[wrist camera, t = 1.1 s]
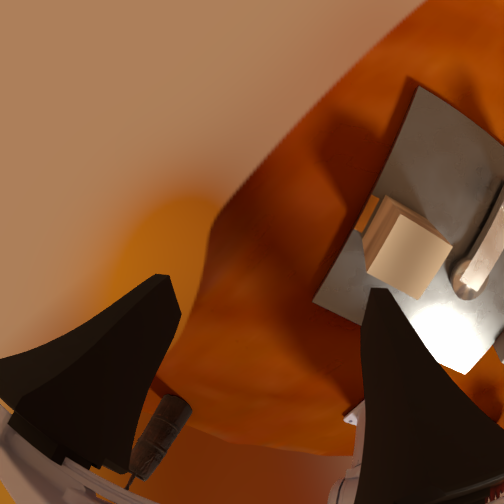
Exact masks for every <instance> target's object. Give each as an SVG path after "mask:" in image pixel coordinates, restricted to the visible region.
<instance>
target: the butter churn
mask: <svg viewBox="0 0 504 504" xmlns="http://www.w3.org/2000/svg"><path fill="white" fill-rule="evenodd" d="M191 414H192V409H191V408H190V406H189V405H188V404H187V403H186V402H185V401H183V400H182V399H180V398H178V397H176V396H170V395H169V394H167V395H164V397H163V398H162V400H161V402H160V404H159V405H158V407H157V409H156V411H155V413H154V414H153V416H152V417H151V420H150V421H149V423H148V425H147V426H146V428H145V430H144V432H143V433H142V435H141V437H140V438H139V439H138V442H137V443H136V445H135V447H134V448H133V449H132V451H131V457H130V463H129V473H131V474H132V475H131V477H130V479H129V481H128V484H127V485H126V487H125V488H124V489H126V490H129V485H131V484H132V482H133V480H134V478H135V476H136V477H137V478H139V479H141V480H143V481H146V480H147V479H148V478H149V476H150V475H151V474H152V473H153V471H154V470H155V469H156V467H157V466H158V465H159V464H160V462H161V460H162V459H163V458H164V456H165V455H166V453H167V450H168V449H169V447H170V446H171V444H172V443H173V441H174V440H175V438H176V437H177V435H178V434H179V433H180V431H181V429H182V428H183V426H184V425H185V423H186V422H187V420H188V419H189V417H190V415H191Z"/></svg>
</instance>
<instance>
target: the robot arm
mask: <svg viewBox="0 0 504 504" xmlns="http://www.w3.org/2000/svg"><path fill="white" fill-rule="evenodd" d="M180 318H181V311H180V308H179V305H178V302H177V299H176V296H175V292H174V289H173V286H172V283H171V280H170V276H169V275H162V274H155V275H153V276H151V277H150V278H148V279H147V280H146V281H144V282H142V283H141V284H140V285H138V286H137V287H136V288H134V289H133V290H132V291H130V292H129V293H127V294H126V295H124V296H123V297H122V298H120V299H119V300H118V301H116V302H115V303H113V304H112V305H111V306H109V307H108V308H106V309H105V310H103V311H102V312H100V313H99V314H98V315H96V316H95V317H93V318H92V319H90V320H89V321H87V322H86V323H84V324H82V325H81V326H79V327H77V328H75V329H74V330H72V331H70V332H68V333H67V334H65V335H63V336H61V337H59V338H57V339H55V340H52V341H50V342H48V343H46V344H44V345H41V346H39V347H37V348H34V349H31V350H29V351H26V352H23V353H20V354H16V355H13V356H9V357H6V358H2V359H0V398H1V399H2V400H3V401H4V402H5V403H6V404H7V405H8V406H9V407H11V408H12V409H13V410H14V413H13V414H10V413H9V412H8V411H7V410H6V409H5V408H4V407H3V406H2V405H1V404H0V480H1V482H2V483H3V485H4V486H5V488H6V489H7V491H8V492H9V494H10V495H11V497H12V498H13V500H14V501H15V502H16V504H112V503H109V502H107V501H104V500H102V499H100V498H97V497H96V493H98V494H100V495H102V496H103V497H105V498H107V499H109V500H111V501H113V502H114V503H116V504H159V503H156V502H154V501H151V500H148V499H146V498H144V497H141V496H139V495H137V494H134V493H132V492H130V491H128V490H126V489H123V488H121V487H119V486H117V485H115V484H113V483H111V482H109V481H107V480H105V479H103V478H102V477H100V476H98V475H96V474H94V473H93V472H91V471H89V469H90V467H91V465H92V466H93V467H95V468H97V469H100V468H101V466H104V467H106V468H108V469H110V470H112V471H114V472H117V473H119V474H125V473H127V472H129V463H130V457H131V451H132V445H133V441H134V436H135V432H136V428H137V424H138V420H139V417H140V413H141V410H142V407H143V404H144V401H145V398H146V395H147V392H148V390H149V387H150V385H151V383H152V380H153V378H154V376H155V374H156V372H157V370H158V368H159V366H160V364H161V362H162V360H163V358H164V356H165V354H166V352H167V350H168V348H169V346H170V344H171V342H172V340H173V338H174V335H175V333H176V330H177V327H178V324H179V321H180ZM361 364H362V374H363V385H364V397H365V399H364V400H363V401H362V402H361V403H360V404H359V405H358V406H357V407H355V408H354V409H353V410H352V411H351V412H350V413H348V414H347V415H346V416H345V417H344V421H345V422H347V423H350V424H353V425H356V426H357V427H356V437H355V446H354V454H353V462H352V468H351V469H347V470H346V476H345V477H344V478H340V479H338V481H337V482H336V483H335V484H334V485H333V487H332V488H331V491H330V494H329V498H328V504H504V496H503V497H500V498H498V499H496V500H493V501H491V502H489V503H485V498H486V497H488V496H489V495H490V486H492V485H494V484H496V483H498V482H500V481H502V480H504V429H502V428H501V427H500V426H499V425H497V424H496V423H495V422H494V421H493V420H492V419H490V418H489V417H488V416H487V415H486V414H485V413H484V412H483V411H482V410H481V409H479V408H478V407H477V406H476V405H475V404H474V403H473V402H472V401H471V399H470V398H469V397H468V396H467V395H466V394H465V393H464V392H463V391H462V390H461V389H460V388H459V387H458V386H457V385H456V384H455V382H454V381H453V380H452V379H451V378H450V377H449V375H448V374H447V373H446V372H445V370H444V369H443V368H442V367H441V366H440V364H439V363H438V362H437V360H436V359H435V358H434V356H433V355H432V354H431V352H430V351H429V349H428V348H427V347H426V345H425V344H424V342H423V341H422V340H421V338H420V337H419V335H418V334H417V332H416V331H415V329H414V328H413V326H412V325H411V323H410V322H409V320H408V319H407V317H406V316H405V314H404V312H403V311H402V309H401V308H400V306H399V305H398V303H397V301H396V300H395V298H394V297H393V295H392V294H391V292H390V291H389V289H388V288H370V293H369V297H368V302H367V306H366V310H365V314H364V318H363V322H362V326H361ZM95 492H96V493H95Z"/></svg>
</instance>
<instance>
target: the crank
mask: <svg viewBox="0 0 504 504" xmlns="http://www.w3.org/2000/svg"><path fill="white" fill-rule="evenodd" d="M503 249H504V185H503V188H502V190H501V192H500V195H499V197H498V199H497V201H496V203H495V205H494V208H493V210H492V212H491V214H490V216H489V218H488V220H487V222H486V224H485V225H484V227H483V229H482V231H481V233H480V235H479V237H478V238H477V240H476V242H475V244H474V246H473V247H472V249H471V251H470V252H469V254H468V256H467V257H464V258H462V259H461V260H459V261H458V262H457V263H456V265H455V266H454V268H453V270H452V272H451V276H450V283H451V287H452V289H453V290H454V292H455V294H456V295H457V297H458V298H460V299H462V300H472V299H475V298H477V297H478V296H479V295H480V294H481V293H482V292H483V291H484V290H485V288H486V286H487V284H488V280H489V273H490V271H491V270H492V268H493V266H494V265H495V263H496V261H497V260H498V258H499V256H500V255H501V253H502V251H503Z"/></svg>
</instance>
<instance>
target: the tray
mask: <svg viewBox="0 0 504 504" xmlns="http://www.w3.org/2000/svg"><path fill="white" fill-rule="evenodd" d="M493 346H494V348H495V350H496V352H497V354H498V356H499V358H500V361H501V362H502V363H503V364H504V332H503V333H502V334H501V335H500V337H499V338H498V339H497V340H496V342H495V343H494V344H493Z"/></svg>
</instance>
